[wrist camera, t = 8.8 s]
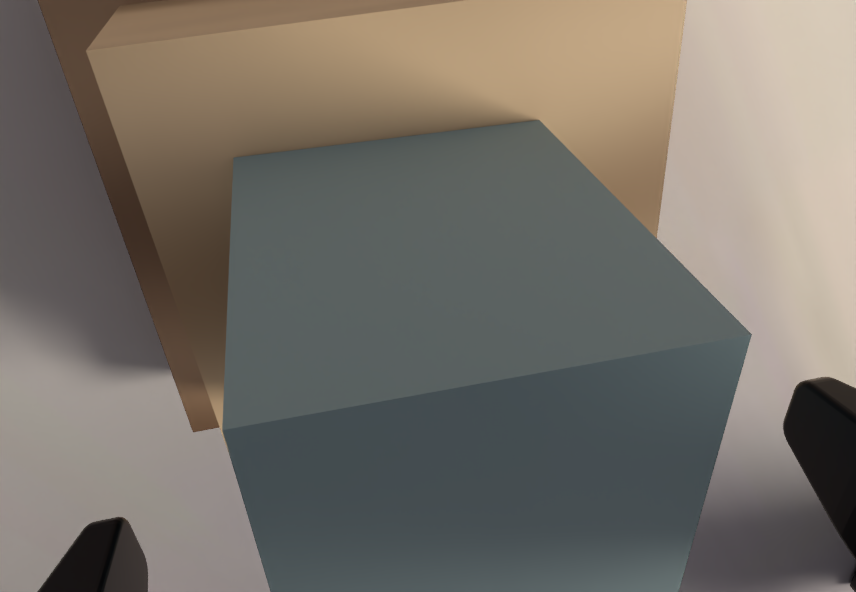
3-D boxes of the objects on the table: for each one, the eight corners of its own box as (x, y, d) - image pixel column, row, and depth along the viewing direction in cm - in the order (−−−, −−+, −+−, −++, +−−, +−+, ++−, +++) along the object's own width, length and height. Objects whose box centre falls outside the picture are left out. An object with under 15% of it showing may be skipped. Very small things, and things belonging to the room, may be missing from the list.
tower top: (585, 321, 18) (636, 397, 16) (241, 389, 17) (239, 482, 15) (609, -57, 13) (691, -30, 11) (120, 6, 12) (85, 50, 10)
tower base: (560, 295, 22) (600, 355, 19) (200, 358, 20) (193, 432, 18) (586, -113, 15) (649, -102, 13) (62, -66, 14) (22, -43, 11)
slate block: (527, 352, 14) (670, 620, 10) (284, 395, 14) (306, 709, 9) (539, 120, 12) (751, 335, 7) (233, 157, 11) (222, 430, 6)
